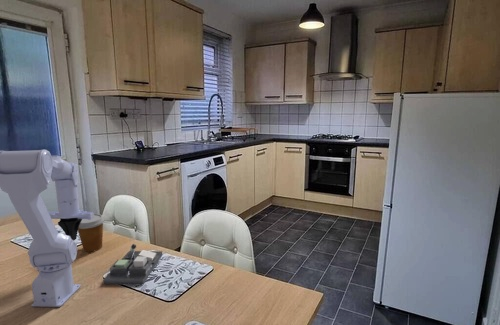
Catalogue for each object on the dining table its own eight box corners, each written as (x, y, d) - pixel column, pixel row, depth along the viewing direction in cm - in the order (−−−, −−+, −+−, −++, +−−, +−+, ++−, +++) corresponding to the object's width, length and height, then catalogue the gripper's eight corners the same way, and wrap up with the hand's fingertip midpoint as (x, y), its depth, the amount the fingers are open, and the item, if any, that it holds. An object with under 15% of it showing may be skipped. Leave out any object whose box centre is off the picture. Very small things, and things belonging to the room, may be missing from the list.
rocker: (152, 260, 96) (152, 258, 96) (138, 257, 96) (138, 254, 96) (155, 255, 99) (156, 253, 99) (142, 251, 99) (142, 249, 99)
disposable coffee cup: (93, 256, 104) (89, 225, 101) (72, 252, 106) (68, 221, 104) (112, 243, 113) (109, 214, 110) (92, 240, 115) (89, 212, 113)
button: (124, 270, 90) (124, 264, 90) (115, 270, 90) (114, 264, 90) (128, 265, 93) (128, 259, 93) (119, 265, 93) (119, 259, 93)
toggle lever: (131, 260, 97) (135, 246, 96) (126, 258, 97) (131, 244, 96) (133, 257, 99) (137, 244, 98) (128, 256, 99) (133, 242, 98)
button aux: (143, 267, 90) (142, 261, 90) (133, 267, 90) (133, 261, 90) (146, 262, 93) (146, 256, 93) (137, 262, 93) (137, 256, 93)
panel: (143, 284, 86) (143, 274, 86) (103, 284, 86) (102, 274, 86) (162, 255, 104) (162, 246, 103) (129, 254, 104) (128, 246, 104)
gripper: (97, 196, 95) (101, 234, 98) (54, 195, 95) (58, 234, 98) (85, 202, 88) (89, 244, 91) (38, 202, 88) (43, 243, 91)
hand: (72, 239), depth 94 cm, fingers closed
